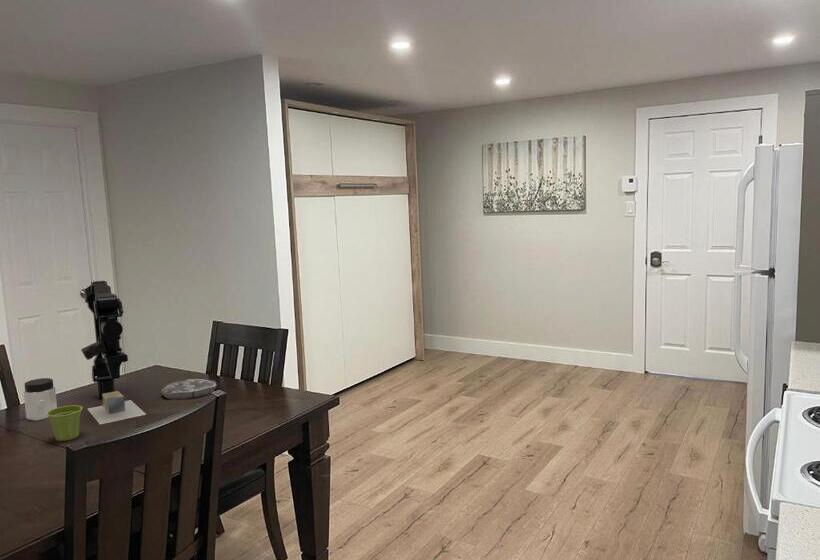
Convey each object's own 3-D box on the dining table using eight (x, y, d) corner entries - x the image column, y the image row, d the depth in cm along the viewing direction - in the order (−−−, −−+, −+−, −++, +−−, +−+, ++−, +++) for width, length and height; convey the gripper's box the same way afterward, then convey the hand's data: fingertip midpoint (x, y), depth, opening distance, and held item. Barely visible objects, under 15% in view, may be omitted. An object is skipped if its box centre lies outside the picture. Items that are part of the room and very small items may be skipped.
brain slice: (209, 383, 238) (209, 376, 238) (220, 394, 224) (220, 386, 223) (156, 392, 228) (155, 384, 228) (164, 404, 214) (163, 396, 213)
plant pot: (60, 446, 177) (57, 417, 176) (42, 440, 182) (40, 412, 181) (91, 435, 185) (88, 408, 183) (74, 430, 190) (71, 403, 188)
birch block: (109, 414, 202) (103, 407, 209) (125, 410, 206) (119, 404, 212) (107, 399, 202) (102, 393, 209) (124, 396, 205) (117, 390, 212)
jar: (26, 422, 197) (23, 386, 196) (26, 415, 204) (22, 381, 203) (58, 417, 202) (55, 381, 201) (56, 410, 209) (53, 376, 207)
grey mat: (87, 409, 209) (87, 408, 209) (130, 401, 217) (130, 400, 217) (100, 425, 193) (99, 424, 193) (146, 415, 202) (146, 414, 202)
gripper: (76, 332, 205) (81, 378, 206) (88, 341, 190) (92, 390, 192) (112, 328, 211) (116, 371, 213) (126, 336, 197) (130, 383, 199)
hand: (113, 379), depth 204 cm, fingers closed
